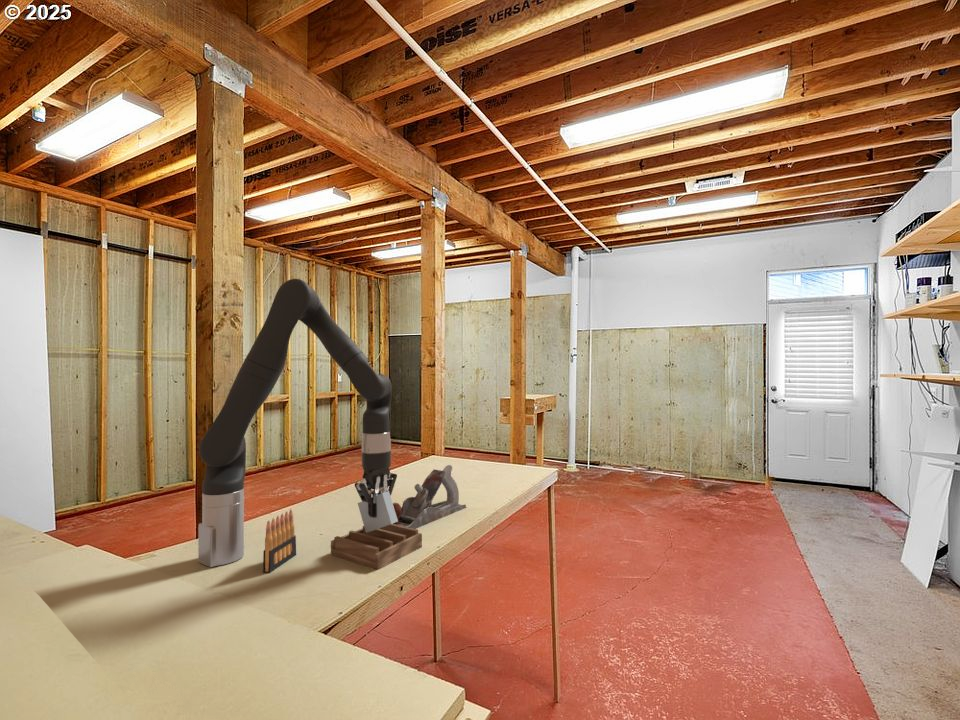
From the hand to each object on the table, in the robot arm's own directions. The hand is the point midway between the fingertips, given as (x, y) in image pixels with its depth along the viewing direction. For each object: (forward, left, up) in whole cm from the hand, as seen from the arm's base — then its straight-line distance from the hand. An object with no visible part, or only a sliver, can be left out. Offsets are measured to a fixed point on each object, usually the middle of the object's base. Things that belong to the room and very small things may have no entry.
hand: (377, 515), depth 119 cm
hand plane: (+27, +6, -10) cm, 29 cm away
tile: (0, -2, -3) cm, 3 cm away
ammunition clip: (-18, +15, -9) cm, 25 cm away
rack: (0, 0, -9) cm, 9 cm away
